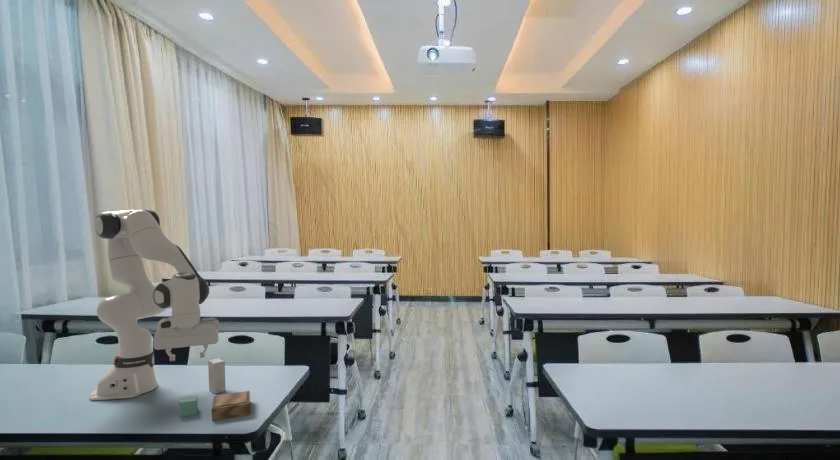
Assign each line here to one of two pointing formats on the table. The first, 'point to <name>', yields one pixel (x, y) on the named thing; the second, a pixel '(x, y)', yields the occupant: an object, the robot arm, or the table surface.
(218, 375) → the skincare box
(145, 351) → the robot arm
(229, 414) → the tray
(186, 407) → the teal cube
